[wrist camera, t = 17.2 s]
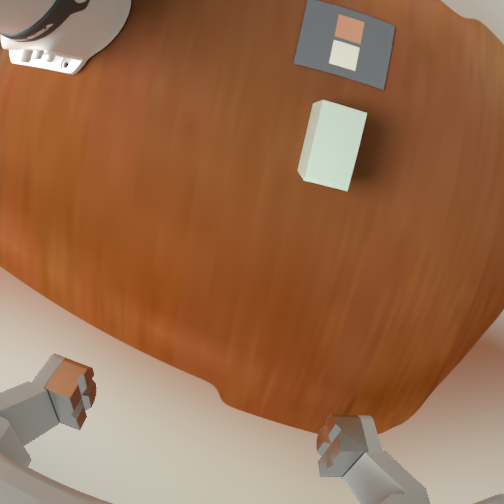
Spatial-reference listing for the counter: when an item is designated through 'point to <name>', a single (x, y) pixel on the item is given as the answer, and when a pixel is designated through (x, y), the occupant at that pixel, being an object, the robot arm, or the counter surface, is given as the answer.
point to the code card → (345, 43)
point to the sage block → (331, 144)
